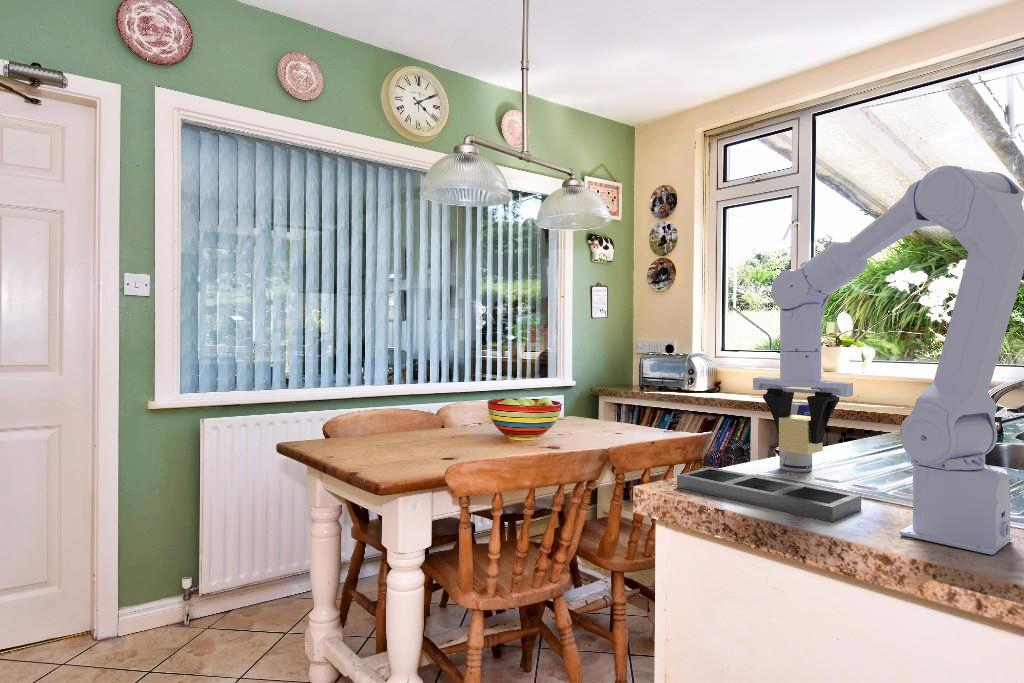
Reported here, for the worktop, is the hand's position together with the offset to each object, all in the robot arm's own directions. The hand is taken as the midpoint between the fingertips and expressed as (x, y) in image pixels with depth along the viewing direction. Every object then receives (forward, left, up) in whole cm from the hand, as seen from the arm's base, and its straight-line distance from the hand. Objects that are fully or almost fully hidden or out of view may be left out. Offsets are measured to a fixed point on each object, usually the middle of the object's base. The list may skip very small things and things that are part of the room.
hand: (800, 440), depth 97 cm
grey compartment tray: (+3, +5, -8) cm, 10 cm away
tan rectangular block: (0, 0, -2) cm, 2 cm away
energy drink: (+9, -17, -9) cm, 21 cm away
